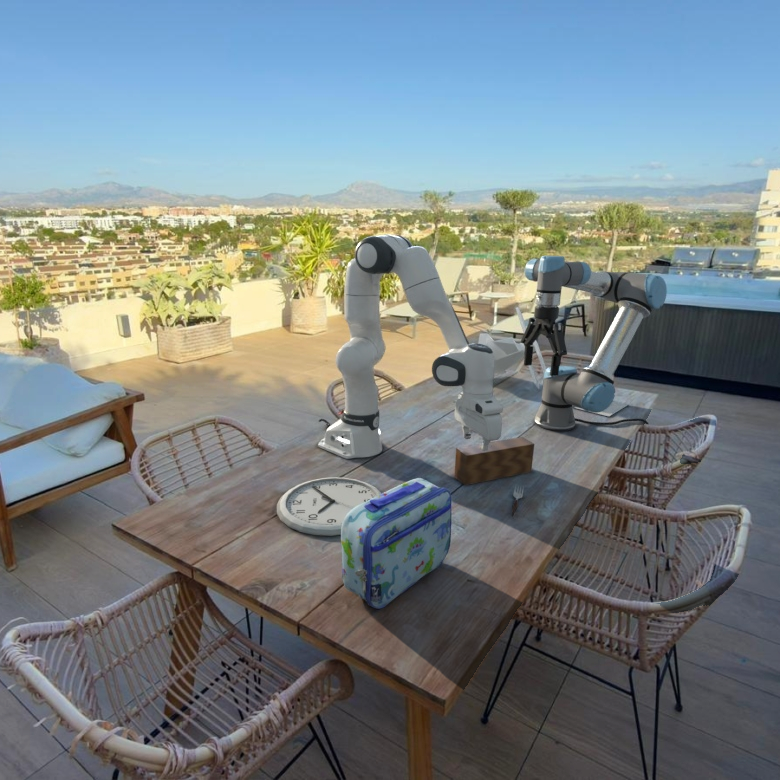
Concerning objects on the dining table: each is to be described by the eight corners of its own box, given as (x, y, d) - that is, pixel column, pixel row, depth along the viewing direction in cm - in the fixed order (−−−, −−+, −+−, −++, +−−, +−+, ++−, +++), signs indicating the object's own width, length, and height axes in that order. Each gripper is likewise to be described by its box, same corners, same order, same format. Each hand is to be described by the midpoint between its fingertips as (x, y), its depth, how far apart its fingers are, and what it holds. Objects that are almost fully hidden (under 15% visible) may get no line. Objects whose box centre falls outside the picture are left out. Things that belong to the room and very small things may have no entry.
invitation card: (608, 416, 214) (573, 407, 224) (608, 416, 214) (573, 408, 224) (628, 404, 229) (594, 396, 238) (628, 405, 229) (594, 397, 238)
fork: (506, 517, 138) (507, 510, 138) (514, 490, 152) (515, 483, 152) (516, 518, 137) (517, 512, 137) (523, 491, 152) (524, 485, 151)
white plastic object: (486, 418, 267) (465, 395, 242) (467, 346, 289) (447, 318, 264) (556, 394, 255) (543, 367, 230) (531, 321, 277) (516, 289, 252)
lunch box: (370, 622, 101) (370, 527, 94) (335, 595, 108) (333, 505, 102) (455, 565, 118) (460, 481, 112) (420, 544, 125) (423, 465, 119)
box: (519, 464, 170) (522, 436, 167) (531, 471, 165) (534, 443, 162) (454, 476, 161) (456, 447, 158) (464, 485, 155) (466, 455, 152)
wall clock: (392, 527, 129) (268, 531, 127) (391, 533, 130) (269, 537, 127) (383, 473, 158) (282, 475, 155) (383, 478, 158) (282, 480, 156)
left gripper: (450, 391, 160) (448, 433, 164) (487, 411, 142) (485, 458, 146) (468, 389, 162) (466, 430, 166) (507, 408, 144) (503, 454, 148)
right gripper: (514, 301, 176) (508, 362, 182) (564, 312, 154) (556, 381, 160) (532, 300, 179) (526, 360, 185) (584, 311, 157) (575, 378, 163)
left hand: (475, 443), depth 156 cm, fingers open, 8 cm apart
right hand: (540, 370), depth 173 cm, fingers open, 13 cm apart
